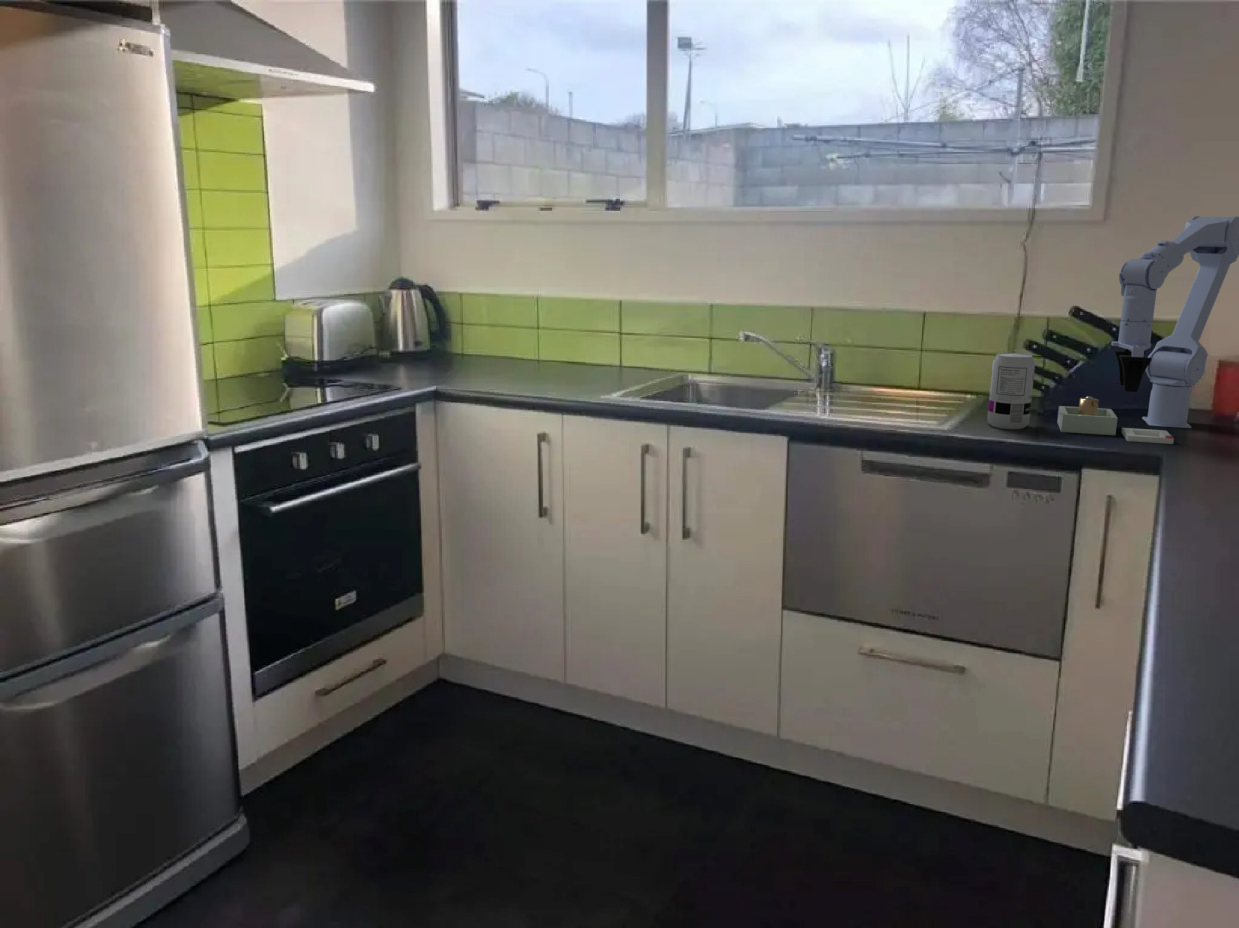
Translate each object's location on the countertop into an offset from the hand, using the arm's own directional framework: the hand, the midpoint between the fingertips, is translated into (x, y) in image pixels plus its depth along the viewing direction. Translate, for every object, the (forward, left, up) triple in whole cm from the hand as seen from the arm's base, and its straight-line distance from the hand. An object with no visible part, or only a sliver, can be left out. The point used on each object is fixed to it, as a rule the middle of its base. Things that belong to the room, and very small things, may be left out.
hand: (1128, 388), depth 203 cm
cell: (0, -7, -9) cm, 11 cm away
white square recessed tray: (+6, +3, -9) cm, 12 cm away
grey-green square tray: (0, -7, -9) cm, 12 cm away
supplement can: (0, -22, -10) cm, 24 cm away
